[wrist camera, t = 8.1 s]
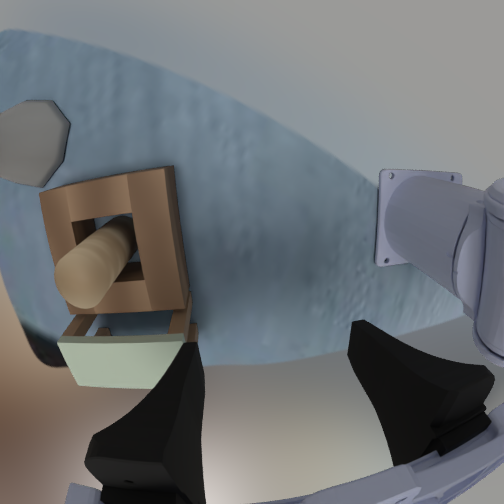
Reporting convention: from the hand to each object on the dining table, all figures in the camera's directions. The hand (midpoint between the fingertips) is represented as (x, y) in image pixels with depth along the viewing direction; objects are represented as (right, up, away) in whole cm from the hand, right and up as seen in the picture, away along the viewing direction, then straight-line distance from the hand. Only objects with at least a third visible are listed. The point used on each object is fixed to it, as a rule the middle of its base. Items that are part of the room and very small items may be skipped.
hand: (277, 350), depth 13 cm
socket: (-11, +6, +7) cm, 14 cm away
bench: (-10, -1, +10) cm, 14 cm away
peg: (-11, +6, +7) cm, 14 cm away
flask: (-18, +13, +4) cm, 23 cm away
